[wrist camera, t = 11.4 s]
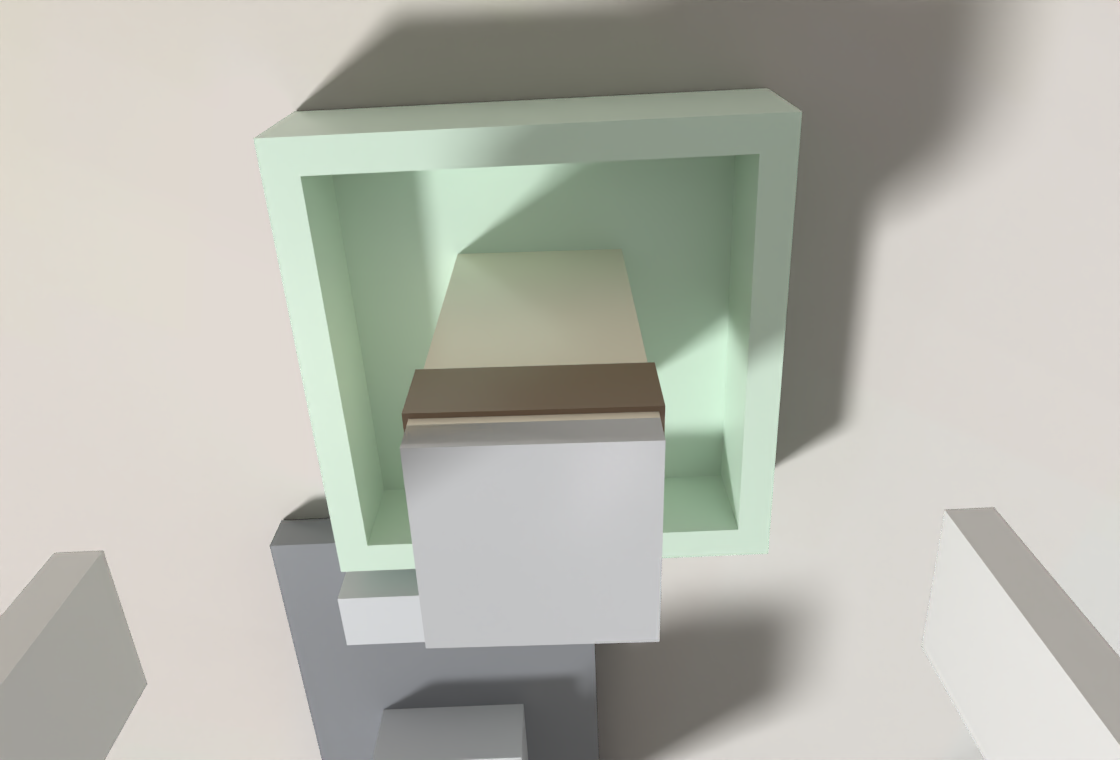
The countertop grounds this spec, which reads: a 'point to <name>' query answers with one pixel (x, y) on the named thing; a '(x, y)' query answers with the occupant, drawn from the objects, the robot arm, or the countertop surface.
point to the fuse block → (420, 670)
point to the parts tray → (529, 226)
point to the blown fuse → (536, 457)
